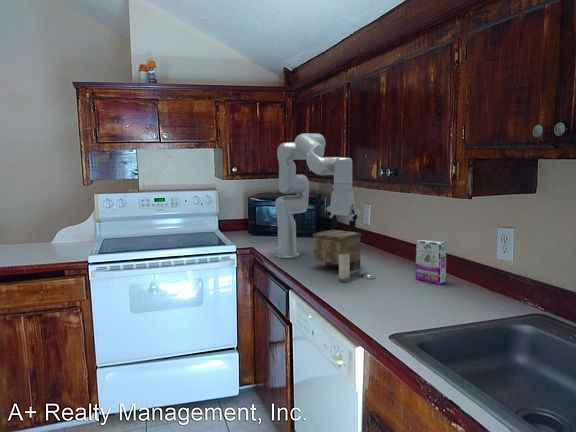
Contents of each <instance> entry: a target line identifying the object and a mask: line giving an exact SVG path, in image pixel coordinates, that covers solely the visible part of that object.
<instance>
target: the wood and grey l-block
mask: <svg viewBox="0 0 576 432" xmlns="http://www.w3.org/2000/svg"><path fill="white" fill-rule="evenodd" d="M350 271H351V269H350V254H349V253H342V254H339V267H338V277H337V278H338V279H337V280H338V282H339V283H340V282H341V283H349V282H352V281H356V280H359V279H361V278H362V279H363V274H366V273H369V271H366V270H358V271H355V272H350Z"/></svg>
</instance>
